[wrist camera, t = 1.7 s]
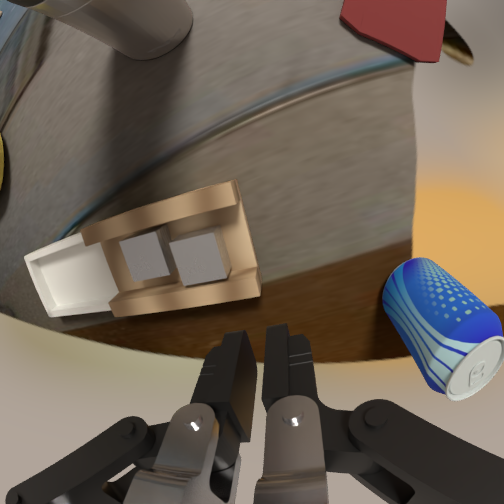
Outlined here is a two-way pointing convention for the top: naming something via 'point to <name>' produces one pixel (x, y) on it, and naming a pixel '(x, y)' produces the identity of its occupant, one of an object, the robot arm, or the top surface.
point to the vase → (1, 161)
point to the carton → (400, 25)
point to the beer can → (444, 328)
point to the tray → (72, 277)
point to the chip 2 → (201, 255)
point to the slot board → (178, 221)
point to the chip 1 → (149, 253)
